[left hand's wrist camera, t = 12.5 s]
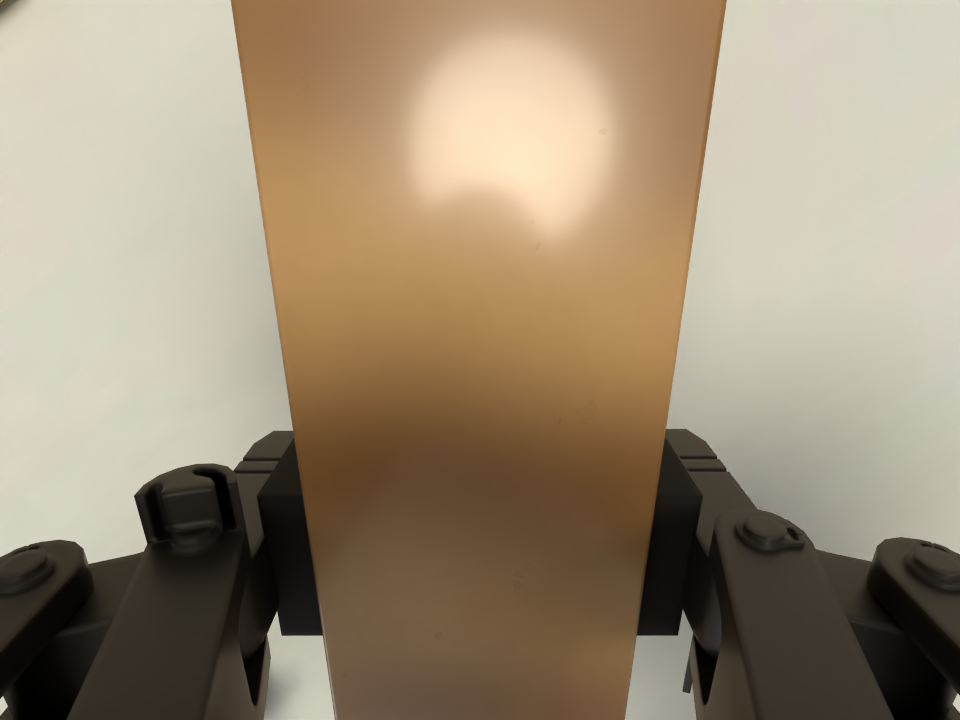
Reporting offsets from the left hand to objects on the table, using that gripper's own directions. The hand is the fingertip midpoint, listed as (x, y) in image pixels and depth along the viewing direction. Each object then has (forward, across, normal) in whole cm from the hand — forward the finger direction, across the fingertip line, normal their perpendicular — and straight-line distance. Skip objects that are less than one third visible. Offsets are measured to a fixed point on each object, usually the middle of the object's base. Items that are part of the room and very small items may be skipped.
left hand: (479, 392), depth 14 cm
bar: (0, 0, -34) cm, 34 cm away
